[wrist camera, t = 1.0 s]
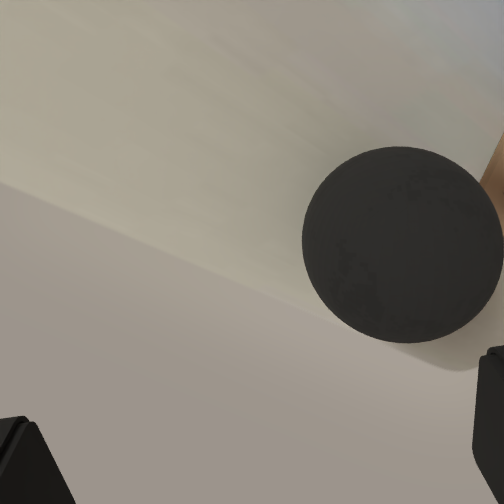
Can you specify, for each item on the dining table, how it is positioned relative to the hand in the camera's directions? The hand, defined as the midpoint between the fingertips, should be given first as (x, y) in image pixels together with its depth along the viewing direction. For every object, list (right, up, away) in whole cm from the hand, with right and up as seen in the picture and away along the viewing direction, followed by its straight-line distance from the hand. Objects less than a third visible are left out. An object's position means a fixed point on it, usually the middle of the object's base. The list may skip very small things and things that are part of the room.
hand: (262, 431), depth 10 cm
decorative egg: (+9, +8, +28) cm, 31 cm away
